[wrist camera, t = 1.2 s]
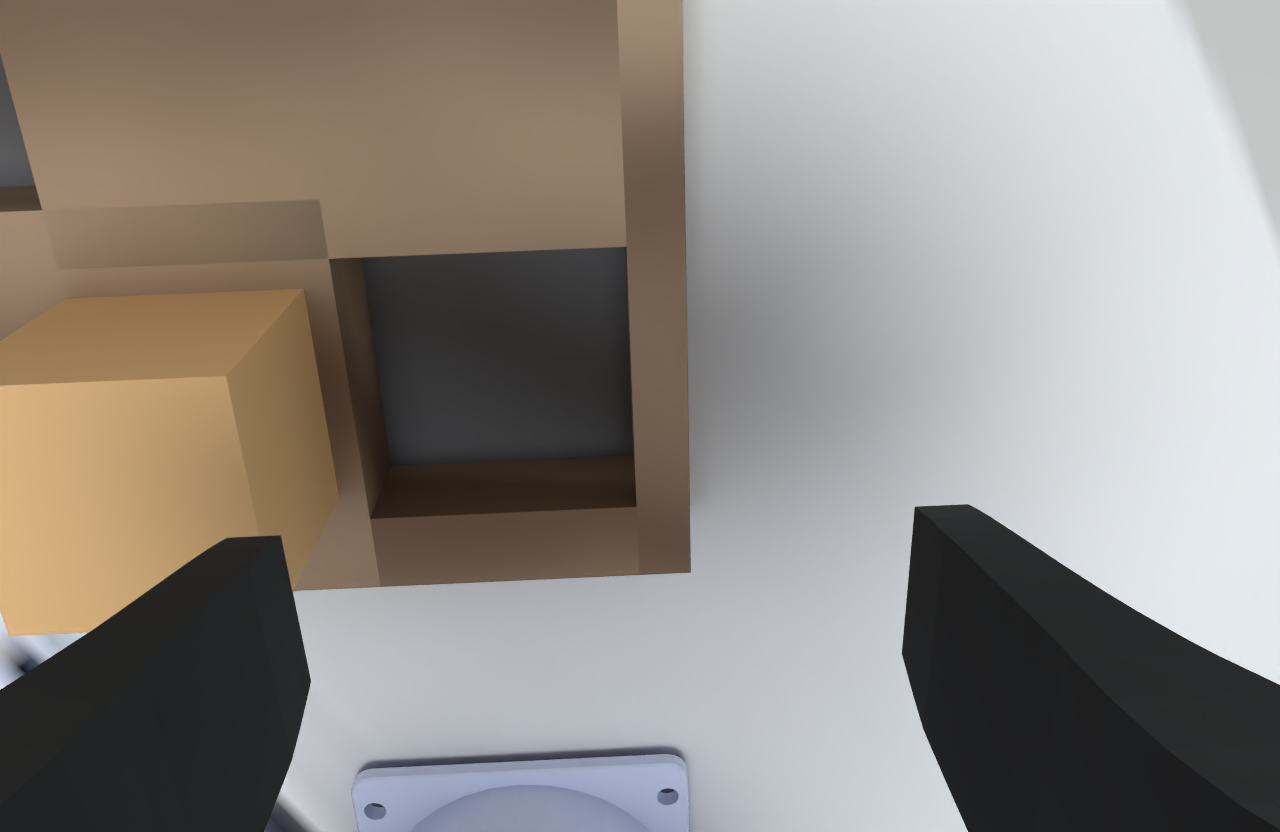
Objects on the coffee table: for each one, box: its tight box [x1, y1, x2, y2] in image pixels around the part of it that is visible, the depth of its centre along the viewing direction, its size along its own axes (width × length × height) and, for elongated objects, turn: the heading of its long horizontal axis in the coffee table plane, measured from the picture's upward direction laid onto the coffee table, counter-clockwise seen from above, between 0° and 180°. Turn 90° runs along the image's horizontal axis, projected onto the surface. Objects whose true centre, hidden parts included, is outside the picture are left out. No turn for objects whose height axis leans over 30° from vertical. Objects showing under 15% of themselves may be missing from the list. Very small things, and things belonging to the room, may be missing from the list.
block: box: [0, 289, 339, 636], centre depth 17 cm, size 4×4×4 cm
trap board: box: [0, 0, 691, 591], centre depth 18 cm, size 14×19×2 cm
